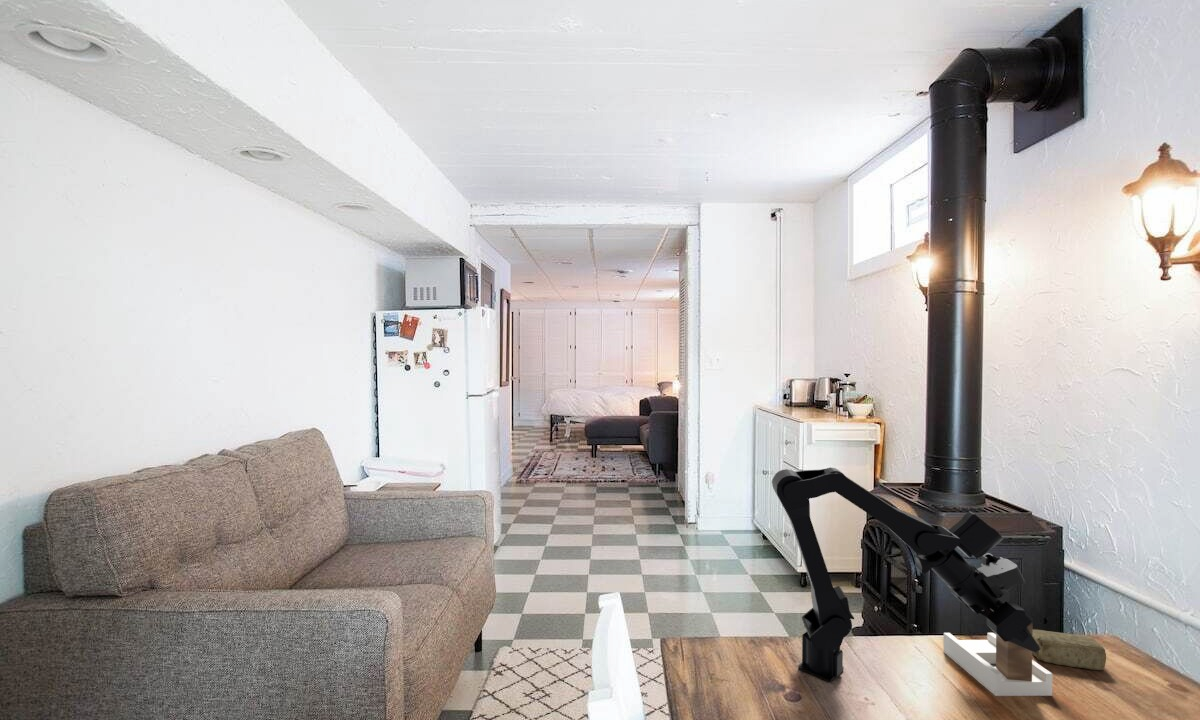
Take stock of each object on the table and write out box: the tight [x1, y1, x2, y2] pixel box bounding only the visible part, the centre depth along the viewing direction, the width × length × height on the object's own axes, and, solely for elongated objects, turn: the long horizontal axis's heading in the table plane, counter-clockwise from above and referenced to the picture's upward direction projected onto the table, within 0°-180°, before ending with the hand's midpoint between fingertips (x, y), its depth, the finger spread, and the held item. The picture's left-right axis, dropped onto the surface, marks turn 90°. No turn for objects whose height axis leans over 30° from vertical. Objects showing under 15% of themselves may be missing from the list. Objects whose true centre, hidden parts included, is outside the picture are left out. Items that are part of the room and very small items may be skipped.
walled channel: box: [942, 632, 1053, 697], centre depth 109 cm, size 10×15×4 cm
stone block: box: [1032, 628, 1107, 671], centre depth 113 cm, size 6×12×5 cm, turn 72°
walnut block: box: [995, 622, 1034, 681], centre depth 104 cm, size 4×4×11 cm
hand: (1022, 637), depth 103 cm, fingers open, 9 cm apart
